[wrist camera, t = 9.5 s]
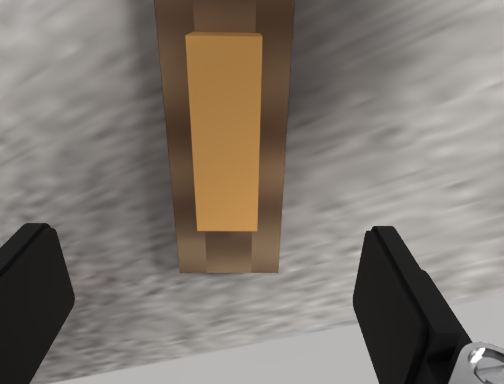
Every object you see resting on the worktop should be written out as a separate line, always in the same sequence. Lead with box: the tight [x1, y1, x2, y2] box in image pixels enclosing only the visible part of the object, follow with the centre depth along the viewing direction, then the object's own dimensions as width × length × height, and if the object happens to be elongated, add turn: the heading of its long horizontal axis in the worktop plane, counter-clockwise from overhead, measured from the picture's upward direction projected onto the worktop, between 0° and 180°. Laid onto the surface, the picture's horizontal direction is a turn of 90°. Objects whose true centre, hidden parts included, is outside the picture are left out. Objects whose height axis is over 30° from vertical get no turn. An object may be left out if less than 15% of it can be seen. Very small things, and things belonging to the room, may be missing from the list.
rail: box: [154, 0, 295, 273], centre depth 26 cm, size 24×8×4 cm, turn 179°
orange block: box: [185, 32, 263, 231], centre depth 25 cm, size 12×4×7 cm, turn 179°
